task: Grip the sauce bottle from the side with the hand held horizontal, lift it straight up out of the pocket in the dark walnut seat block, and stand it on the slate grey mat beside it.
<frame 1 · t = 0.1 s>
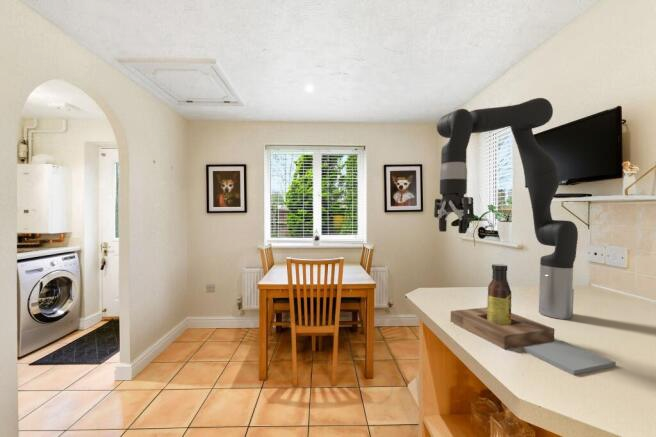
hand: (452, 232, 91), 29 cm above the kitchen counter, tool pointing down, fingers open, 8 cm apart
seat block: (498, 330, 90), on the kitchen counter
sauce bottle: (498, 331, 90), resting in seat block
grey mat: (566, 358, 74), on the kitchen counter
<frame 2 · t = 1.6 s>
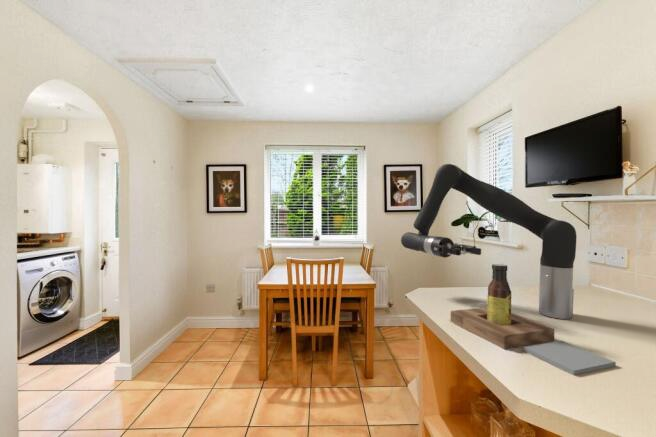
hand: (470, 252, 101), 22 cm above the kitchen counter, tool horizontal, fingers open, 8 cm apart
nothing on the kitchen counter moved.
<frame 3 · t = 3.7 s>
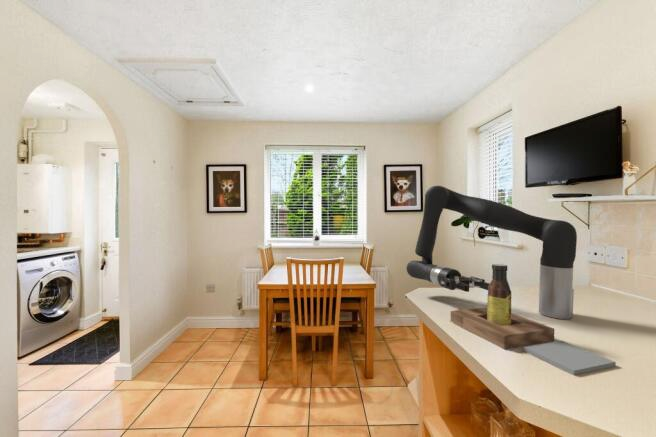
hand: (479, 287, 97), 11 cm above the kitchen counter, tool horizontal, fingers open, 8 cm apart
nothing on the kitchen counter moved.
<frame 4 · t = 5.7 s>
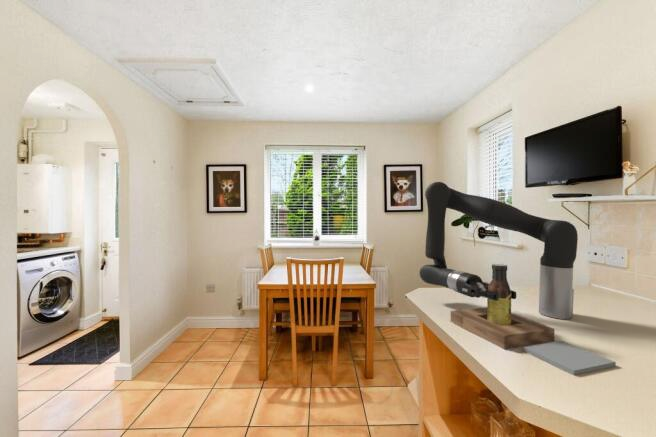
hand: (506, 296, 88), 11 cm above the kitchen counter, tool horizontal, fingers closed on sauce bottle, 6 cm apart
sauce bottle: (498, 331, 90), resting in seat block, touching gripper
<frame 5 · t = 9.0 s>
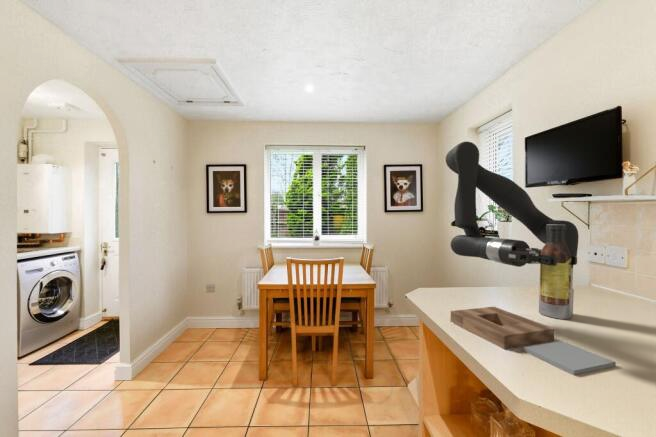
hand: (565, 261, 73), 24 cm above the kitchen counter, tool horizontal, fingers closed on sauce bottle, 6 cm apart
sauce bottle: (553, 303, 76), point 13 cm above the kitchen counter, touching gripper
when the fingers open (13 cm above the kitchen counter, at t = 12.3 s): sauce bottle stays where it is, resting on grey mat.
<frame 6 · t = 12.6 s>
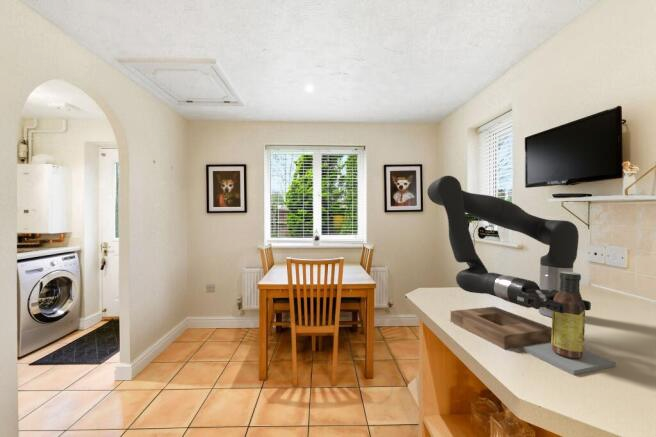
hand: (577, 307, 71), 13 cm above the kitchen counter, tool horizontal, fingers open, 8 cm apart
sauce bottle: (565, 354, 74), point 1 cm above the kitchen counter, touching grey mat
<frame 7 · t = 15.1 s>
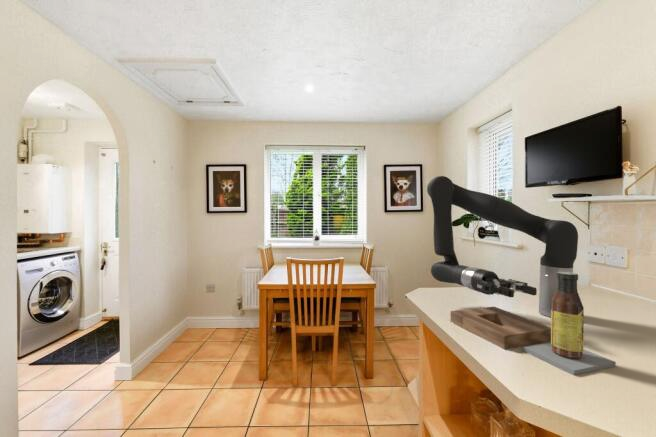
hand: (524, 292, 84), 13 cm above the kitchen counter, tool horizontal, fingers open, 8 cm apart
nothing on the kitchen counter moved.
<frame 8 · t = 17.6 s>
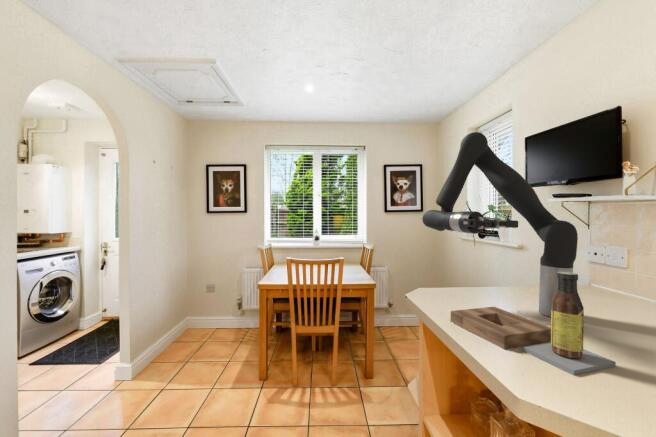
hand: (506, 224, 90), 32 cm above the kitchen counter, tool horizontal, fingers open, 8 cm apart
nothing on the kitchen counter moved.
at the end: sauce bottle inside the target area on the grey mat (0.2 cm from its centre), point 0.8 cm above the grey mat's base; sauce bottle tilted 0°; the gripper is holding nothing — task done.
